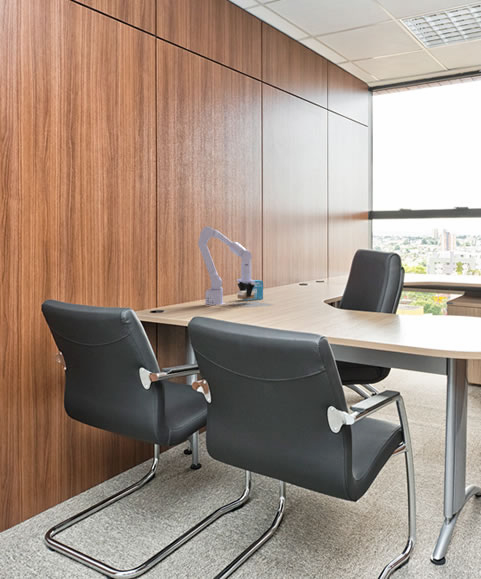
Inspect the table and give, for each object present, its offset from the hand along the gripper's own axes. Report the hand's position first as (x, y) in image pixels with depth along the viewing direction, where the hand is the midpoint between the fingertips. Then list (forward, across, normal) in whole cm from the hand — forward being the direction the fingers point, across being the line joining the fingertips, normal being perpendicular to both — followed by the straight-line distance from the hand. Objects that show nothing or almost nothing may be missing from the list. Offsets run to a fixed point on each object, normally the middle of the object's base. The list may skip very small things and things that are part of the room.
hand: (245, 296), depth 310 cm
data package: (+5, +13, -14) cm, 20 cm away
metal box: (+1, 0, 0) cm, 1 cm away
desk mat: (+5, -5, -1) cm, 7 cm away
